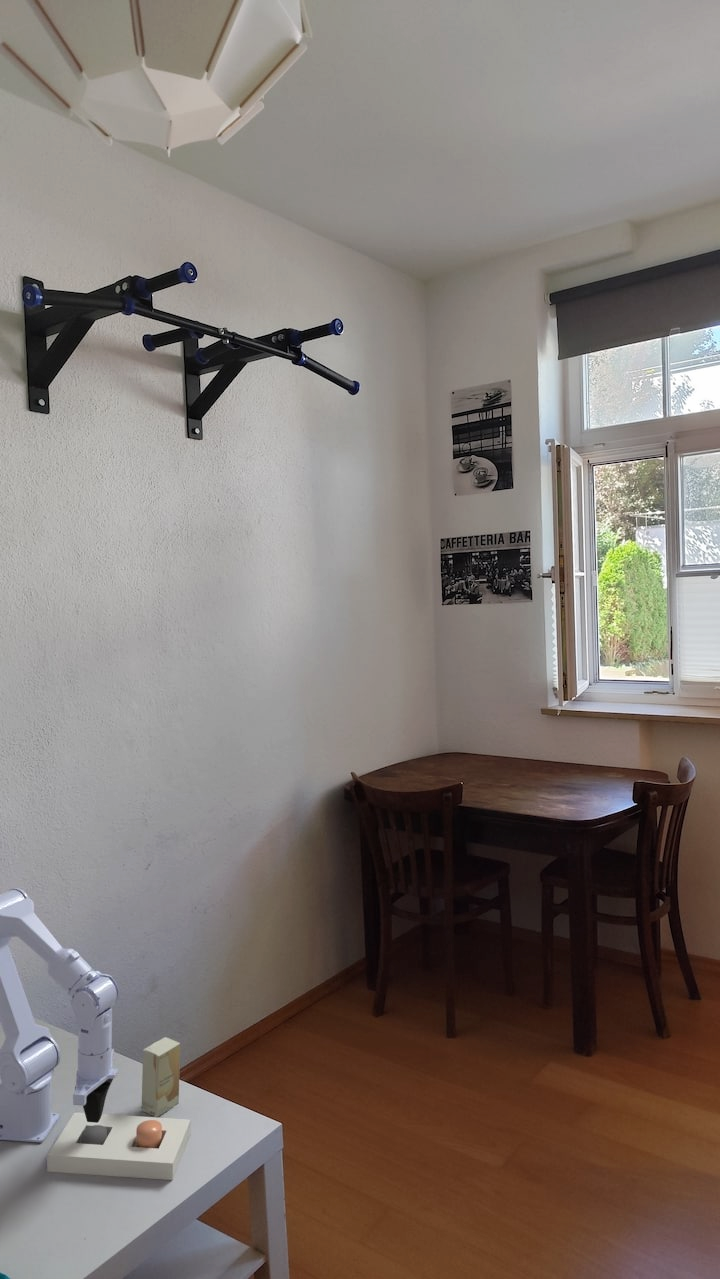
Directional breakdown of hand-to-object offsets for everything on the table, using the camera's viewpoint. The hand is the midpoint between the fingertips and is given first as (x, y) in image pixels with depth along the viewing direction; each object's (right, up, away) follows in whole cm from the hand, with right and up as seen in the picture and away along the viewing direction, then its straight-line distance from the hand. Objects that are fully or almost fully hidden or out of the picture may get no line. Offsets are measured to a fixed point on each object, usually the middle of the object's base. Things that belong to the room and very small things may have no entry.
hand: (93, 1119), depth 153 cm
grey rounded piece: (0, -5, 0) cm, 5 cm away
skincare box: (+9, -5, +14) cm, 17 cm away
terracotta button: (+10, -4, 0) cm, 11 cm away
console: (+5, -6, 0) cm, 8 cm away
